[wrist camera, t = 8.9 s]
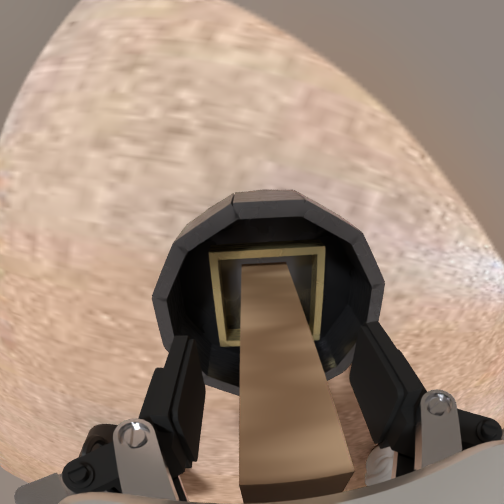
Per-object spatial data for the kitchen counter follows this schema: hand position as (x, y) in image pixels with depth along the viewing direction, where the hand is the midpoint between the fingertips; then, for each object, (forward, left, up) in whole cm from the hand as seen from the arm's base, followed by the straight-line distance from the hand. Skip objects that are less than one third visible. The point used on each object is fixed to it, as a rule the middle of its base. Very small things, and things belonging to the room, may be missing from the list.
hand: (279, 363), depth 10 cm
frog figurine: (-13, +22, -7) cm, 26 cm away
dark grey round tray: (0, 0, -7) cm, 7 cm away
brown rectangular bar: (0, 0, -6) cm, 6 cm away
